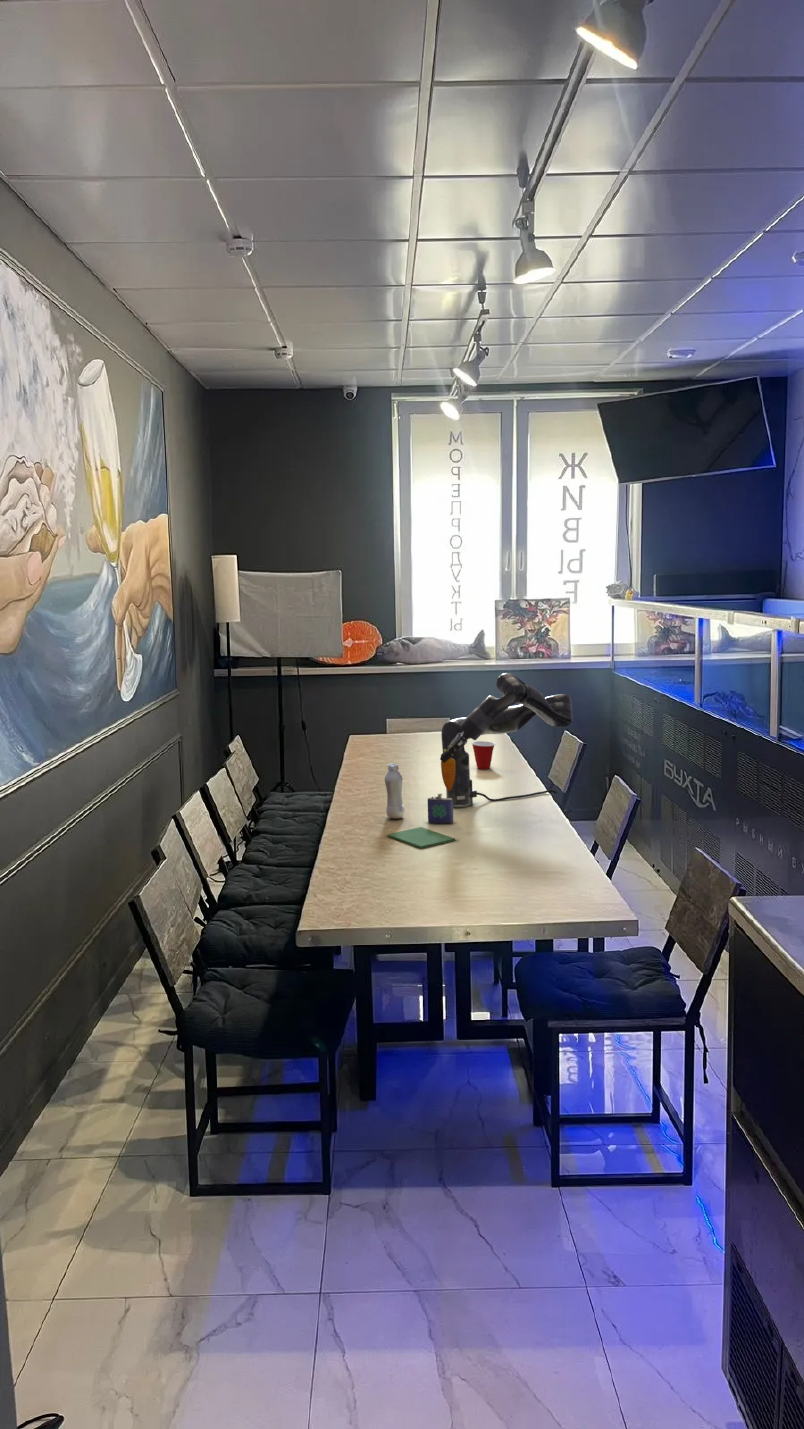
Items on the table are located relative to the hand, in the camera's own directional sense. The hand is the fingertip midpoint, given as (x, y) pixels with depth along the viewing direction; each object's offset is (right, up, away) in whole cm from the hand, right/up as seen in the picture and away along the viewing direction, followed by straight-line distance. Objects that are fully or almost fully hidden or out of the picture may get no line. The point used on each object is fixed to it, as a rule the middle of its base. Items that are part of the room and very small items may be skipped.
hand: (442, 759), depth 325 cm
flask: (0, -24, +17) cm, 29 cm away
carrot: (+2, -11, +1) cm, 11 cm away
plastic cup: (+24, -9, +110) cm, 113 cm away
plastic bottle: (-16, -23, +27) cm, 39 cm away
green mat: (-7, -27, -2) cm, 28 cm away
